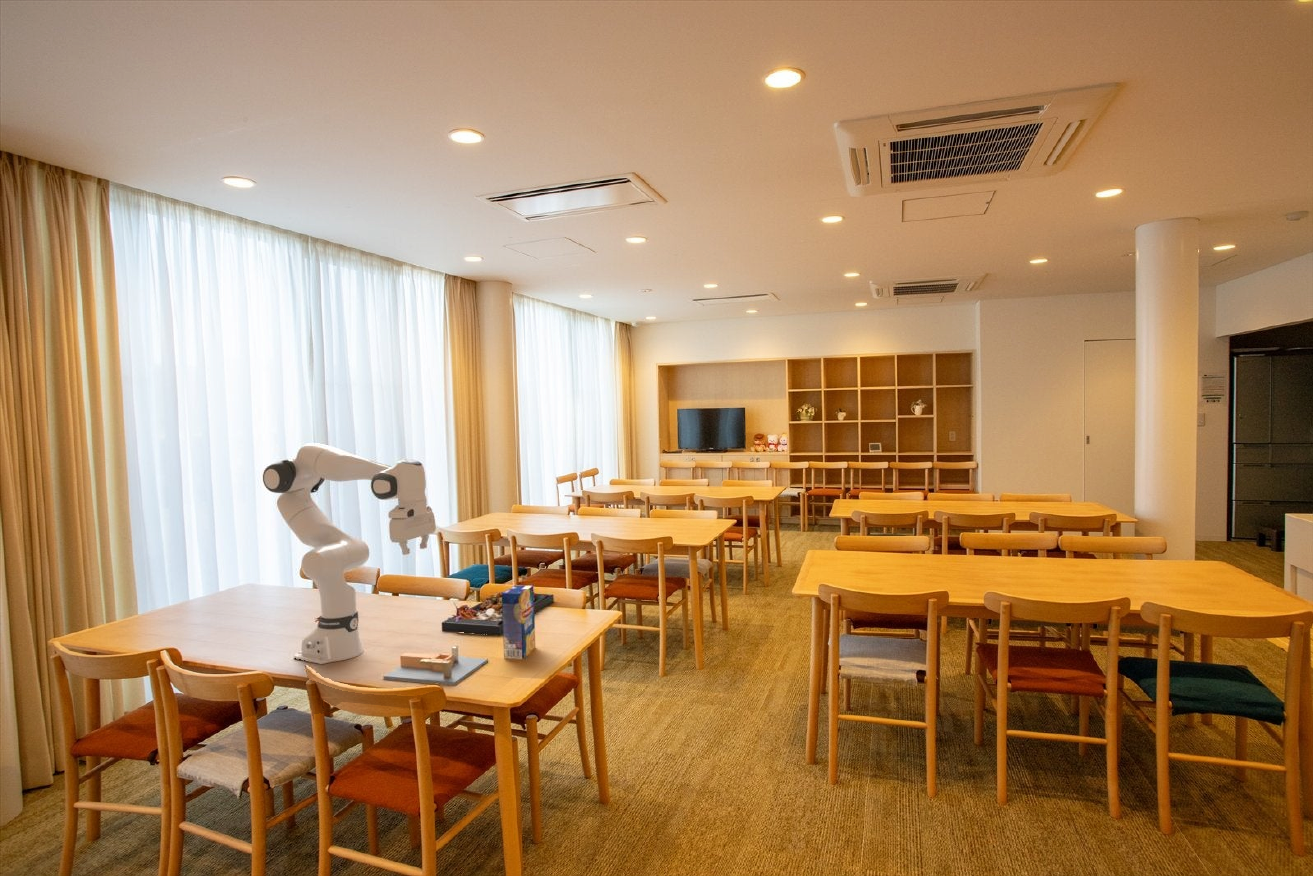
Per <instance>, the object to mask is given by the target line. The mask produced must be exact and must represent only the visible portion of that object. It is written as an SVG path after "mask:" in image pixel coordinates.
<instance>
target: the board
mask: <svg viewBox="0 0 1313 876" xmlns="http://www.w3.org/2000/svg"><path fill="white" fill-rule="evenodd" d="M458 658H459V662H458V663H454V666H452V667H451V672H452V676H451V677H450V678H448V679H445V678H444V673H443V671H437V670H431V669H430V668H418V667H405V666H401V665H400V666H398V667H396V668H395V669H393V670H391V671H390V672H388V673H386V674H384V675H383V678H382V679H383V680H388V681H397V682H398V681H400V682H409V683H410V682H413V683H423V684H432V683H438V684H437V685H445V686H456V685H458V684H459V683H461V682H462V681H463V680H465V679H466V678H467V677H468V675H469V676H470V675H472V674H473V673H475V672H476V671H478V670H479V669H480V668H482V667H483V666H484V665H486V664H487V663H488V662H489V658H481V657H468V656H458ZM486 662H487V663H486ZM485 663H486V664H485ZM483 664H484V665H483ZM482 665H483V666H482ZM478 668H479V669H478ZM471 673H472V674H471ZM464 678H465V679H464Z"/></svg>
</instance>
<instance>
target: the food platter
mask: <svg viewBox="0 0 1313 876" xmlns="http://www.w3.org/2000/svg"><path fill="white" fill-rule="evenodd" d="M503 592H504V591H502V592H497V593H495V594H490V595H489V596H486V597H485V600H484V601H482V602H480V603H477V604H475V605H474V606H471V605H468V604H462V605H460V606H459V608H458V606H457V605H456V603H455V602H453V604H454V606H455V608H456V612H455V611H454V610H453V613H454V612H455V615H454V614H451V617H448V618H447V619H446V620H444V621H442V622H441V631H442V632H449V633H458V632H464V633H474V634H473V635H475V634H485V635H484V636H494V635H498V637H501V636H502V635H503V617H502V593H503ZM554 602H555V599H554V594H550V593H535V592H534V615H535V614H537V613H538V612H540V611H541V610H544V609H545V608H546V607H548V606H549V605H550V604H553V603H554ZM540 609H541V610H540ZM539 610H540V611H539ZM536 612H537V613H536ZM486 634H487V635H486ZM501 634H502V635H501Z"/></svg>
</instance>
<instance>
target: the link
mask: <svg viewBox="0 0 1313 876" xmlns="http://www.w3.org/2000/svg"><path fill="white" fill-rule="evenodd" d="M399 657H400V660H399V661H400V666H405V667H418V668H430V669H431V670H437V671H443V666H435V665H423V664H420V660H422V659H433V660H446V661H451V667H452V666H454V655H452V654H448V653H439V654H430V653H418V652H417V653H416V652H415V653H414V652H405V653H402V654H401V655H399Z"/></svg>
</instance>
